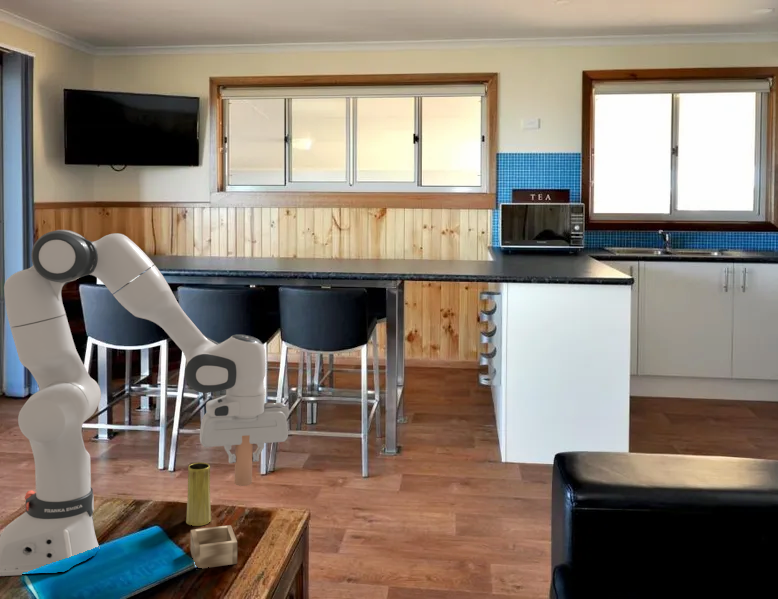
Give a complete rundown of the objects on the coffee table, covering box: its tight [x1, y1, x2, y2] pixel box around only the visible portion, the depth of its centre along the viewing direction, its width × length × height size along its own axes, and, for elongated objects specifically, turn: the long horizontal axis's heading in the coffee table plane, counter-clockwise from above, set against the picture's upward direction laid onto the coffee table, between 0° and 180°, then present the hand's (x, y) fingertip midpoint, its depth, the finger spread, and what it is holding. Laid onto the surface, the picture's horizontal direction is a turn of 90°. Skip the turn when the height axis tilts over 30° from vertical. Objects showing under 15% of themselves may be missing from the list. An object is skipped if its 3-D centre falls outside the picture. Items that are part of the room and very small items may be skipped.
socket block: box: [190, 524, 238, 569], centre depth 160 cm, size 9×9×5 cm
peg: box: [234, 435, 254, 487], centre depth 168 cm, size 4×4×12 cm
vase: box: [185, 462, 212, 527], centre depth 178 cm, size 6×6×14 cm
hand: (243, 461), depth 169 cm, fingers closed on peg, 4 cm apart
